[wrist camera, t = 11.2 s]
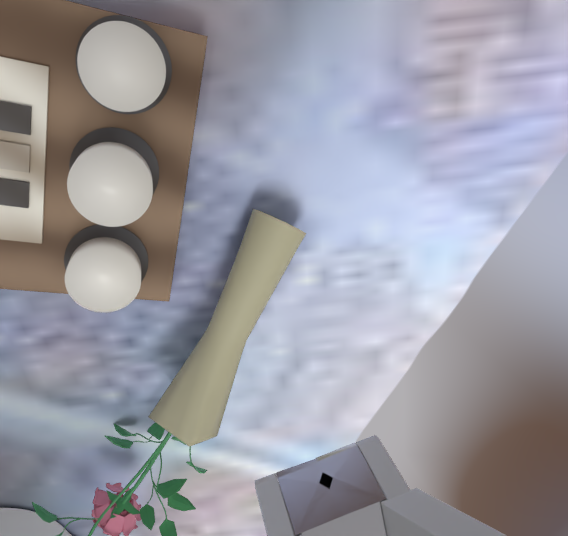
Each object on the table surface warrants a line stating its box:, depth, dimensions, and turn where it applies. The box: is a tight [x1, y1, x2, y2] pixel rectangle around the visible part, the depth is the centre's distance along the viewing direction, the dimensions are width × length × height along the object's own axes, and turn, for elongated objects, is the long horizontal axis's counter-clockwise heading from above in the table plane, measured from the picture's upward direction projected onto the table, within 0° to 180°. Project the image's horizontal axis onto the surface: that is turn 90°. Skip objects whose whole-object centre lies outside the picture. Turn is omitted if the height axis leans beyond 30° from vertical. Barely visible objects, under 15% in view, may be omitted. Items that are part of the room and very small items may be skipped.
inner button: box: [65, 237, 141, 312], centre depth 34 cm, size 5×5×2 cm
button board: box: [0, 0, 208, 301], centre depth 34 cm, size 20×14×4 cm
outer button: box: [77, 21, 166, 112], centre depth 29 cm, size 5×5×2 cm
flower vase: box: [32, 209, 306, 536], centre depth 42 cm, size 12×12×35 cm
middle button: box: [67, 142, 153, 227], centre depth 30 cm, size 5×5×2 cm
